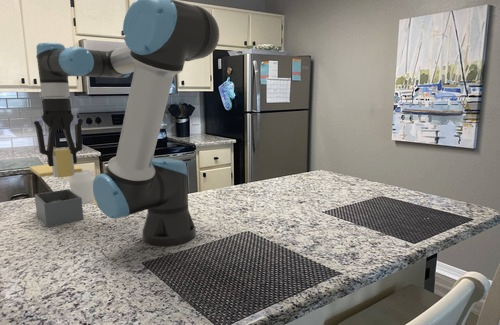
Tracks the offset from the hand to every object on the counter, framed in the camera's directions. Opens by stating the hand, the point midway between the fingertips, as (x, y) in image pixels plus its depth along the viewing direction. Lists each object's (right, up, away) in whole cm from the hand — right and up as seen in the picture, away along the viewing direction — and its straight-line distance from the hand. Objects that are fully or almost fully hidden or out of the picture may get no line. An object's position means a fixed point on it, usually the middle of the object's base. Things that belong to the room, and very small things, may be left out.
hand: (64, 175), depth 116 cm
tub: (-7, -15, +12) cm, 20 cm away
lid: (-5, +1, +7) cm, 8 cm away
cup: (-7, -12, +31) cm, 34 cm away
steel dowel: (-9, -14, +14) cm, 22 cm away
